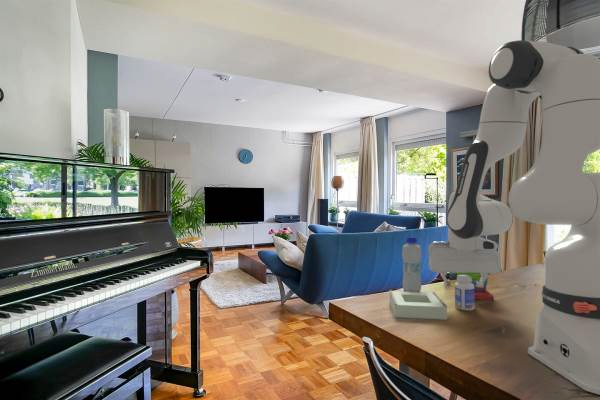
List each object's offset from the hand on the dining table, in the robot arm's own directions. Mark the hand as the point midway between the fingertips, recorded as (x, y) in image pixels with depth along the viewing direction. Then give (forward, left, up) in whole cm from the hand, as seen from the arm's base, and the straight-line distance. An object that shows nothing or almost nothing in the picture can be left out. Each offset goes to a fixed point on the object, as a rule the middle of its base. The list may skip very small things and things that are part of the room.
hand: (463, 286), depth 102 cm
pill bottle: (-1, 0, -7) cm, 7 cm away
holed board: (-5, +15, -6) cm, 17 cm away
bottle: (+14, +13, -7) cm, 20 cm away
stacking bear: (+13, -7, -7) cm, 16 cm away
